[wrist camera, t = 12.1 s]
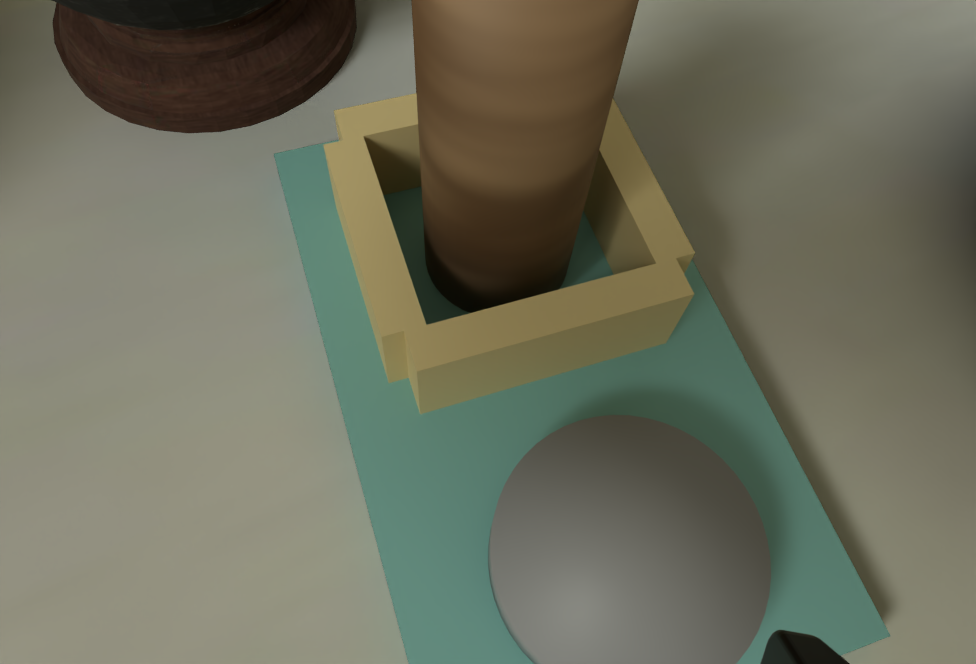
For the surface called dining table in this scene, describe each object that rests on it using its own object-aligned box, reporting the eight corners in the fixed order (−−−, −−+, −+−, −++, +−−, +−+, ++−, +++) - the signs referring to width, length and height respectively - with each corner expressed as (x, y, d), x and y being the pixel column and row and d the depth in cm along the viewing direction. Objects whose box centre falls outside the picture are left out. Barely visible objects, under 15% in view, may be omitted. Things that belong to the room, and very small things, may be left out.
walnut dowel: (589, 296, 24) (719, -94, 13) (449, 334, 23) (448, -45, 12) (540, 182, 26) (613, -249, 14) (408, 214, 25) (373, -216, 14)
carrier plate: (871, 639, 21) (959, 621, 17) (447, 805, 19) (448, 824, 15) (594, 103, 29) (616, 16, 26) (279, 172, 27) (254, 88, 23)
